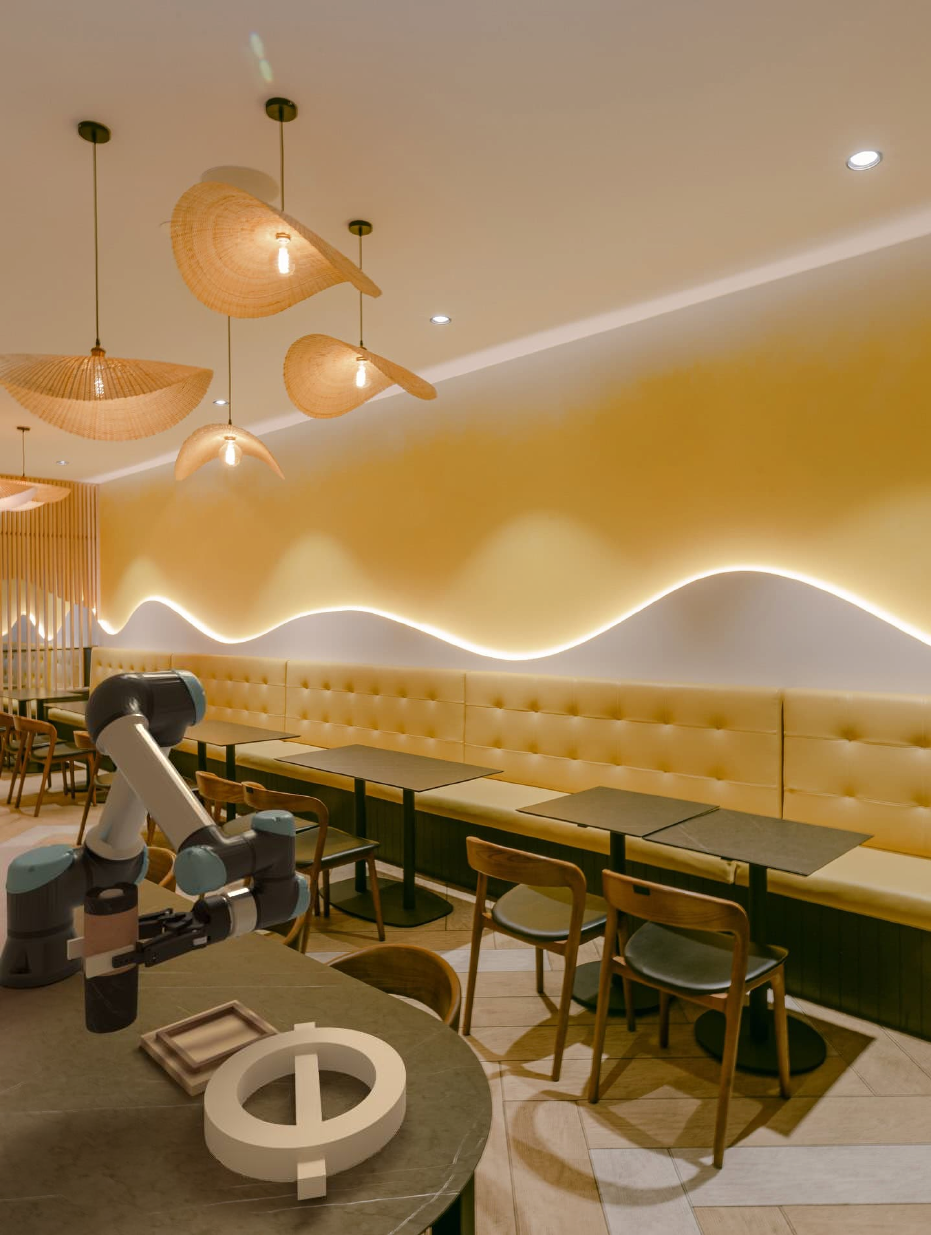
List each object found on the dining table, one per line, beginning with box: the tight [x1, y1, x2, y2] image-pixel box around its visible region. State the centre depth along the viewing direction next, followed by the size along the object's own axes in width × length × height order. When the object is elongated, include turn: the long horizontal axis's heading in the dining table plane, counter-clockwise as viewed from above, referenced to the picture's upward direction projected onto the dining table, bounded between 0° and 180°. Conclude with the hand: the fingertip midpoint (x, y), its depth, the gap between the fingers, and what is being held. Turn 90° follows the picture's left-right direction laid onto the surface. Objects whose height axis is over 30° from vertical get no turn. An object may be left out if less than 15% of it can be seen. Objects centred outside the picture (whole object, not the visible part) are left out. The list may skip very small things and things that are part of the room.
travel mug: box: [83, 882, 140, 1035], centre depth 118 cm, size 8×8×20 cm
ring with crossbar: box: [203, 1021, 407, 1201], centre depth 111 cm, size 28×28×5 cm
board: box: [139, 999, 282, 1097], centre depth 127 cm, size 19×17×2 cm
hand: (77, 959), depth 114 cm, fingers closed on travel mug, 7 cm apart
